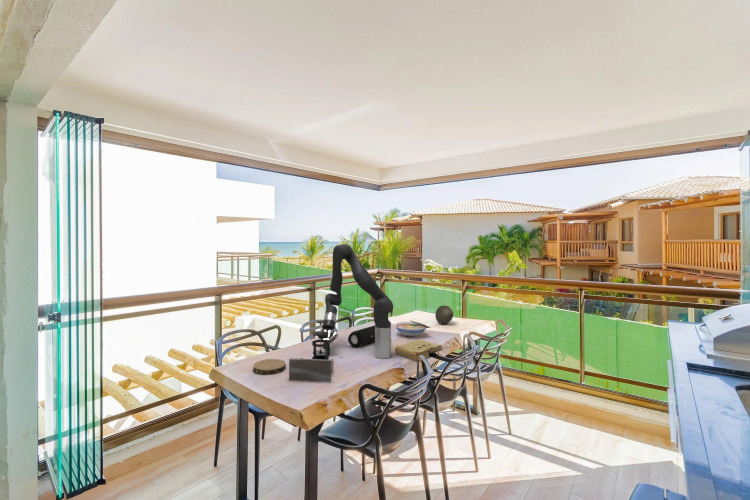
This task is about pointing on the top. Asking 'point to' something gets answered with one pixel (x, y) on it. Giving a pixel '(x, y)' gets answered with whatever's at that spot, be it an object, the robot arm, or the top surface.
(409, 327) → the ramen bowl
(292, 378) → the docking bay
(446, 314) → the dark grey ball
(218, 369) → the top surface
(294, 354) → the top surface
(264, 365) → the wood slice
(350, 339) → the portable speaker
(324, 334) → the french press
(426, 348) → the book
